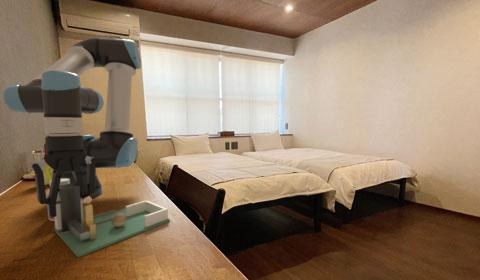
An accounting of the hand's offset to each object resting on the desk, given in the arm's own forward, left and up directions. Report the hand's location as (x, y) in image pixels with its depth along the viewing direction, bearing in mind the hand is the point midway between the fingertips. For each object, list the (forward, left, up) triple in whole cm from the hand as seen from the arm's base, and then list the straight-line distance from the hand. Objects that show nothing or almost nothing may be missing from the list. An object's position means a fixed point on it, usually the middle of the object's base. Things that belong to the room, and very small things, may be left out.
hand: (69, 224), depth 58 cm
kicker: (+5, 0, -1) cm, 5 cm away
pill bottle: (-12, +1, -2) cm, 12 cm away
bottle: (-61, +9, -2) cm, 62 cm away
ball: (+9, +8, +1) cm, 12 cm away
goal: (+9, +15, -2) cm, 18 cm away
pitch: (+6, +8, -2) cm, 11 cm away
